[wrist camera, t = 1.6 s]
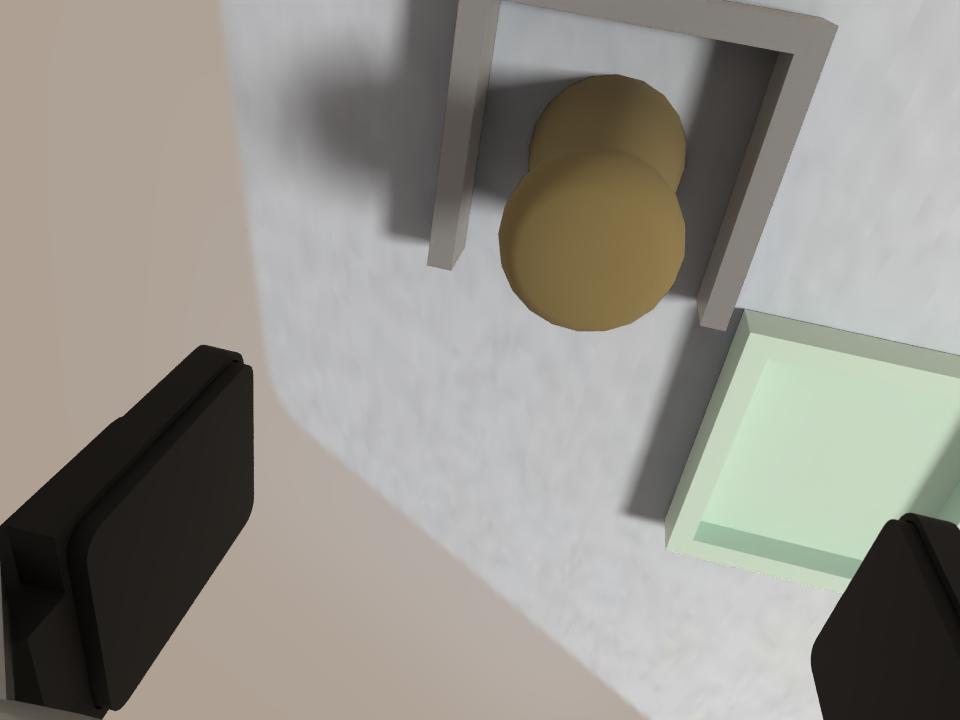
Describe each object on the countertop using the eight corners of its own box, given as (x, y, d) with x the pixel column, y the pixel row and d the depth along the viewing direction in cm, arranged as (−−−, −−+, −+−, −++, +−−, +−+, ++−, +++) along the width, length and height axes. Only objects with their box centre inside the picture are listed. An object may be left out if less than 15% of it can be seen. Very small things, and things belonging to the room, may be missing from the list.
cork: (603, 37, 27) (579, 95, 17) (721, 150, 28) (758, 261, 19) (498, 162, 30) (429, 268, 20) (608, 259, 31) (591, 402, 22)
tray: (1045, 374, 30) (1070, 402, 28) (910, 580, 36) (924, 614, 34) (744, 309, 31) (750, 332, 29) (664, 519, 37) (665, 549, 35)
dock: (822, 17, 25) (838, 26, 23) (720, 303, 31) (725, 331, 29) (478, -45, 26) (463, -42, 24) (441, 243, 32) (427, 265, 30)
